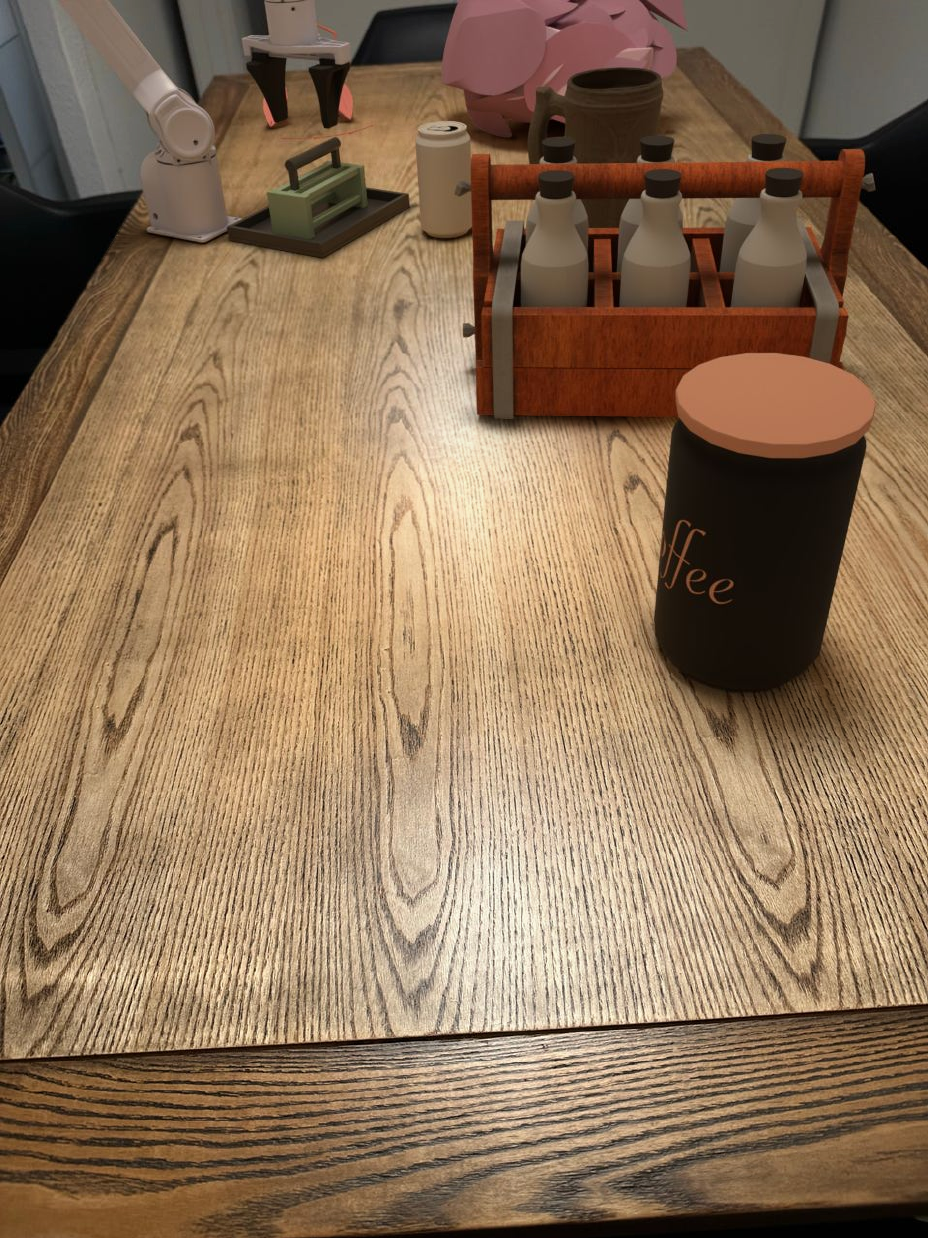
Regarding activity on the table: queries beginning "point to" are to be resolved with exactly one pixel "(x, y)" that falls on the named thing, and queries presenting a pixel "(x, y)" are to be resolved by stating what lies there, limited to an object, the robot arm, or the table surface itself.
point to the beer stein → (601, 124)
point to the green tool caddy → (315, 191)
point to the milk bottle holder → (650, 275)
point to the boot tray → (322, 225)
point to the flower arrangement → (548, 49)
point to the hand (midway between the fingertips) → (305, 123)
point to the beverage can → (443, 178)
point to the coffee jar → (757, 515)
